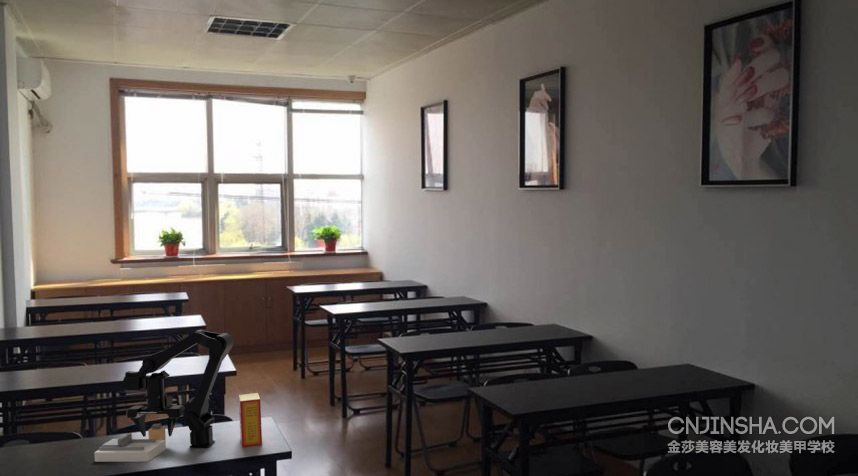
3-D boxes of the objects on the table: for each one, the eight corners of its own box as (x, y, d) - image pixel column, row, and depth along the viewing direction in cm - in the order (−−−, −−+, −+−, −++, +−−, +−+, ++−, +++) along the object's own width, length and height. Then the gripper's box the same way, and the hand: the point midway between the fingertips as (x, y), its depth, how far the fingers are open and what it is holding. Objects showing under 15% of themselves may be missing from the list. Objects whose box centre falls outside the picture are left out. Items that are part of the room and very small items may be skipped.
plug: (165, 443, 243) (164, 422, 243) (160, 447, 239) (159, 426, 239) (154, 443, 243) (153, 422, 243) (149, 447, 239) (148, 426, 239)
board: (166, 449, 237) (165, 437, 237) (148, 461, 225) (147, 449, 225) (115, 449, 238) (114, 437, 238) (94, 461, 226) (94, 449, 226)
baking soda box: (240, 439, 244) (238, 393, 244) (259, 437, 246) (257, 391, 246) (242, 447, 235) (240, 400, 235) (262, 445, 237) (260, 397, 237)
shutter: (132, 442, 235) (131, 433, 235) (121, 448, 228) (121, 439, 228) (113, 442, 235) (113, 433, 235) (102, 448, 229) (102, 439, 229)
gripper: (191, 385, 248) (193, 429, 248) (141, 385, 249) (143, 429, 250) (177, 393, 237) (179, 439, 237) (124, 393, 238) (126, 439, 239)
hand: (157, 436), depth 241 cm, fingers open, 9 cm apart
